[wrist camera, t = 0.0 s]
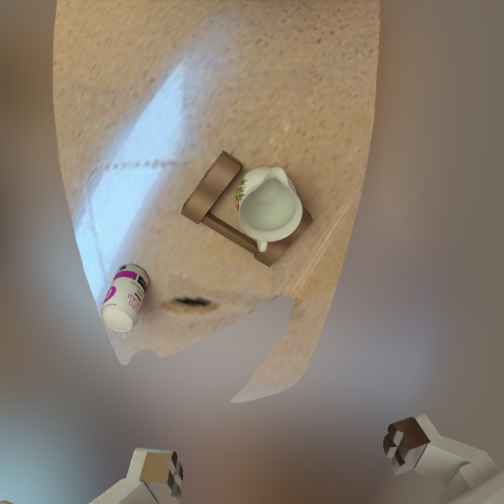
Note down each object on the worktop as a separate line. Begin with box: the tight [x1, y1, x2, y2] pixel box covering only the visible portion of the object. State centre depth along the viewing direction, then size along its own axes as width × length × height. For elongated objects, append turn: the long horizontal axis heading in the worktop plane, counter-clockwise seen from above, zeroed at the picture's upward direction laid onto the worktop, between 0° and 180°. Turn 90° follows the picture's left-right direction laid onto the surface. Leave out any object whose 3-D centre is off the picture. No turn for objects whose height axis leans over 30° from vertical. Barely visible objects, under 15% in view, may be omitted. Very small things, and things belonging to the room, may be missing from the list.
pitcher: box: [235, 167, 303, 252], centre depth 53 cm, size 11×18×14 cm, turn 175°
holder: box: [181, 150, 313, 267], centre depth 58 cm, size 14×22×4 cm, turn 52°
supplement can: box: [101, 265, 149, 332], centre depth 61 cm, size 8×8×15 cm
